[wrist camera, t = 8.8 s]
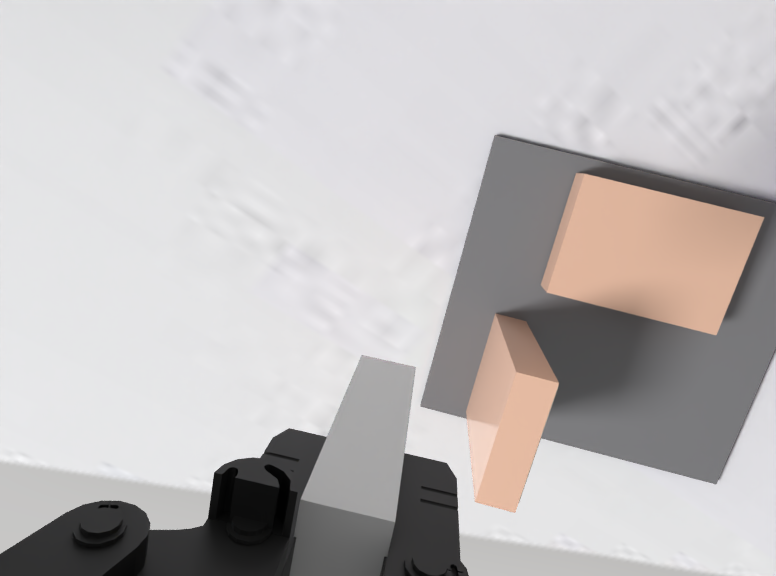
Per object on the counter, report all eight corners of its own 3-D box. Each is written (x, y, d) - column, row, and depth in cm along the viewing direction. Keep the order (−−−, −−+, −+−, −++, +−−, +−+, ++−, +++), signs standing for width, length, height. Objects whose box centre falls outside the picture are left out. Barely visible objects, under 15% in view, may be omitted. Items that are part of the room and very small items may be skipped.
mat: (494, 135, 33) (495, 135, 32) (828, 216, 32) (833, 217, 31) (420, 403, 37) (420, 406, 36) (713, 480, 36) (716, 484, 36)
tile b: (495, 313, 35) (516, 372, 25) (528, 321, 34) (562, 383, 25) (466, 411, 36) (474, 501, 27) (497, 419, 36) (518, 513, 26)
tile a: (584, 173, 30) (764, 217, 30) (575, 173, 32) (743, 213, 32) (546, 292, 32) (716, 335, 31) (540, 284, 34) (699, 324, 34)
